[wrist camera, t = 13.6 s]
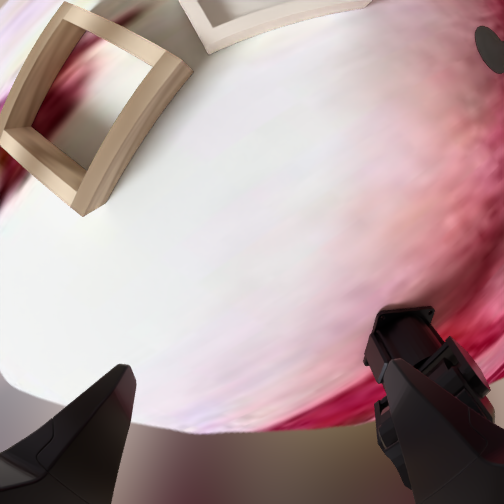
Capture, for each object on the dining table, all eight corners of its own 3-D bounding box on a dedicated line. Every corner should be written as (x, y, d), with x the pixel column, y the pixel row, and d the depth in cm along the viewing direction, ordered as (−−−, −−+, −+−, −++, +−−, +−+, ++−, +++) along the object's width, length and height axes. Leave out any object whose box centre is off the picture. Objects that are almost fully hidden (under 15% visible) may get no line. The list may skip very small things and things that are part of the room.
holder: (193, 71, 16) (182, 59, 13) (105, 203, 19) (82, 217, 16) (86, 13, 13) (64, 1, 10) (18, 132, 17) (-9, 137, 13)
